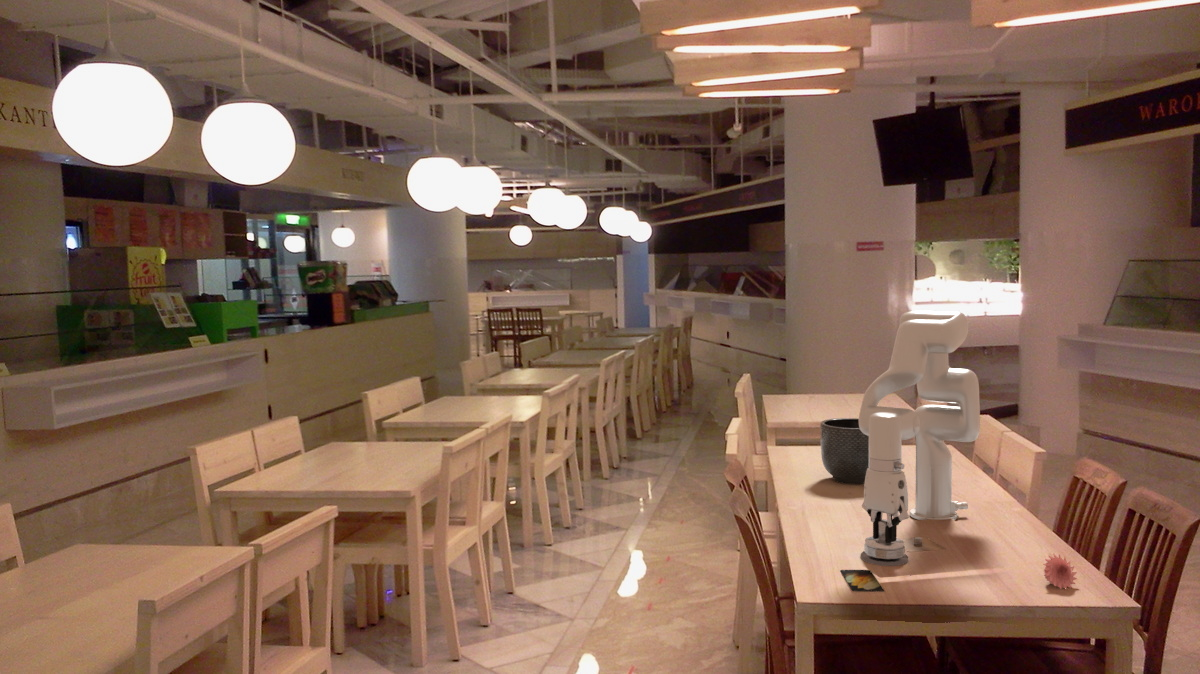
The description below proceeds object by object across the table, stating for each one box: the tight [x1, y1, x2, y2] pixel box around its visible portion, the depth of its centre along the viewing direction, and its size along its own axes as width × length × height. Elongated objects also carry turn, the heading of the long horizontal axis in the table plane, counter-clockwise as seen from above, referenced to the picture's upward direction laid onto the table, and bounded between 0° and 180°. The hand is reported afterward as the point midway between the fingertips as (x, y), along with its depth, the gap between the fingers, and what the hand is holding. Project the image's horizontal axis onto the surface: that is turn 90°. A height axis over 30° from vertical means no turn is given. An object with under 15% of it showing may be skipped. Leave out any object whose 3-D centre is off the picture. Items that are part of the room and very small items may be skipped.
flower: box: [1043, 553, 1078, 590], centre depth 208 cm, size 8×8×6 cm
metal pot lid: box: [860, 550, 909, 567], centre depth 226 cm, size 11×11×3 cm
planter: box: [819, 417, 869, 485], centre depth 306 cm, size 20×20×19 cm
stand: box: [900, 536, 947, 553], centre depth 236 cm, size 10×10×3 cm
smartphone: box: [839, 569, 886, 594], centre depth 213 cm, size 7×1×15 cm
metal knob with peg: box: [863, 518, 906, 559], centre depth 225 cm, size 9×9×8 cm
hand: (884, 539), depth 225 cm, fingers closed on metal knob with peg, 3 cm apart
